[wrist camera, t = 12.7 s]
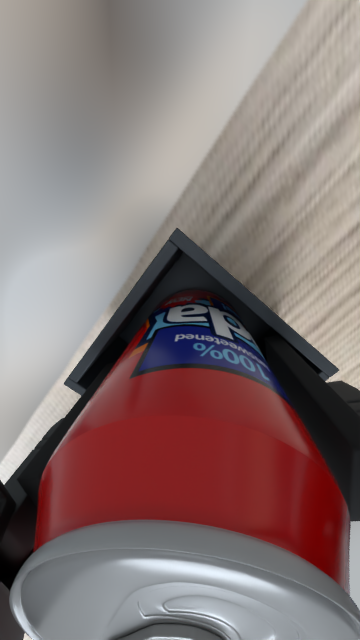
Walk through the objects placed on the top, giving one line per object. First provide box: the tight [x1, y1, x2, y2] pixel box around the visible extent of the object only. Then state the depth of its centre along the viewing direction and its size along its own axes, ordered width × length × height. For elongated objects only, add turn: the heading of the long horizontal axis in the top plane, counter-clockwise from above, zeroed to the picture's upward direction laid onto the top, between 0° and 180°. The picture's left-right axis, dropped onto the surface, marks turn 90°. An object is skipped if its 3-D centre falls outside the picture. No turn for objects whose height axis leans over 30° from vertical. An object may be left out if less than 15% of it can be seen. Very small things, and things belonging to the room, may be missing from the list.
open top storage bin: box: [64, 228, 339, 396], centre depth 15 cm, size 11×11×8 cm
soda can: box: [9, 289, 360, 640], centre depth 11 cm, size 8×8×15 cm
